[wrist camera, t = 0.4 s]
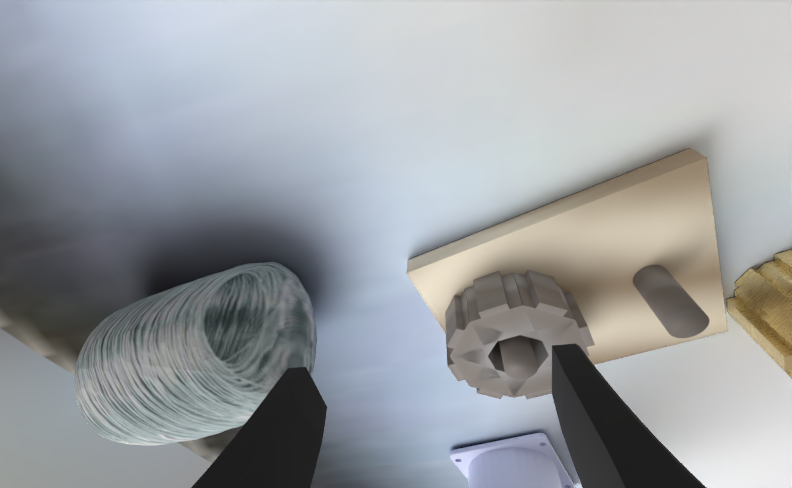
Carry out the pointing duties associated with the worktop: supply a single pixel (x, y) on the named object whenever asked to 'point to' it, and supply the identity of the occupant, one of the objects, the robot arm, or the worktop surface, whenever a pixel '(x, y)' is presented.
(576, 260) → the gear board
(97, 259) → the worktop surface
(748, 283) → the brass gear
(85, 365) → the spool
